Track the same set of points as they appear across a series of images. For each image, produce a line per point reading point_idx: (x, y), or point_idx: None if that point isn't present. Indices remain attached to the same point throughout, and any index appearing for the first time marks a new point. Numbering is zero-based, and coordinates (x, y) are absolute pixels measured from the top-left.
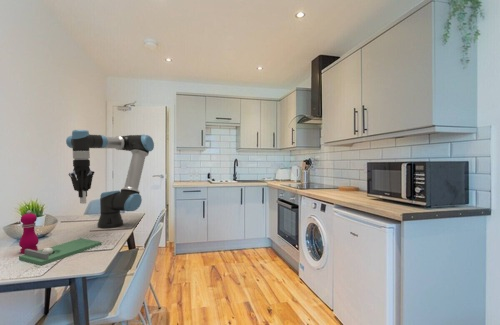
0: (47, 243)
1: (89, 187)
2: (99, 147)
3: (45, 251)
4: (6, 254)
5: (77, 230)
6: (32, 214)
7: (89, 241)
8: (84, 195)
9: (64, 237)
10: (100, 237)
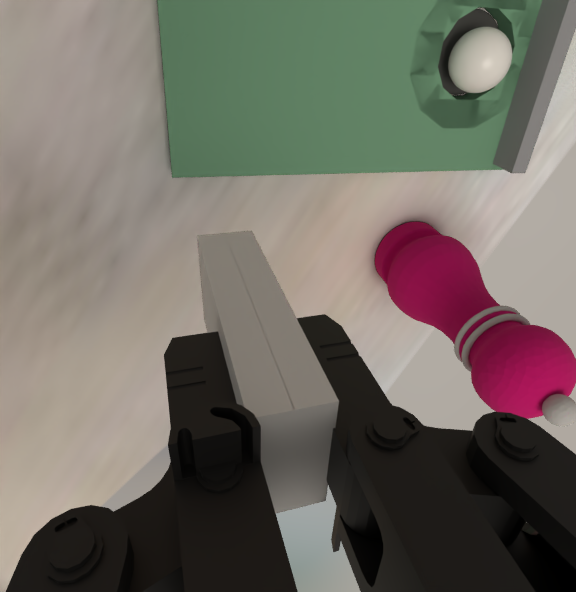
0: None
1: (82, 572)
2: None
3: (510, 44)
4: None
5: (40, 417)
6: (547, 375)
7: (192, 13)
8: (266, 325)
9: None
10: (17, 112)
